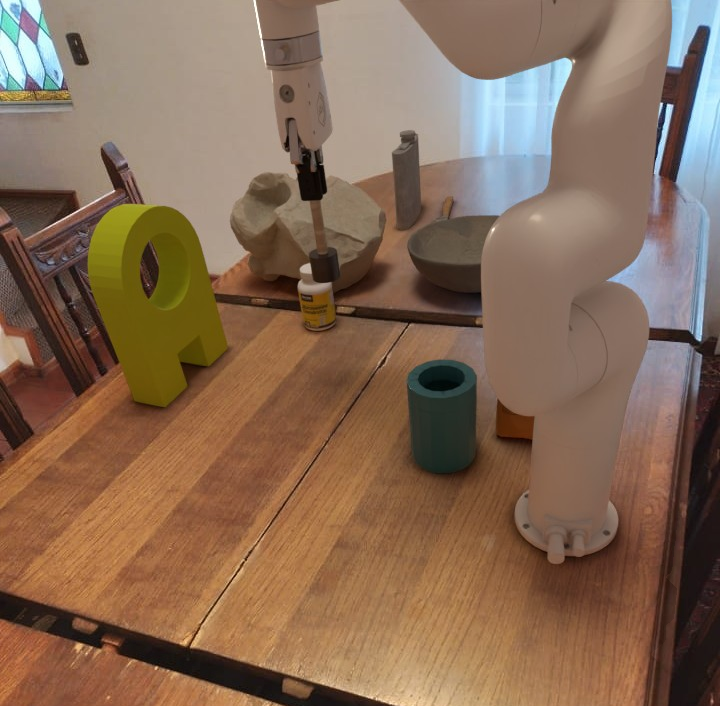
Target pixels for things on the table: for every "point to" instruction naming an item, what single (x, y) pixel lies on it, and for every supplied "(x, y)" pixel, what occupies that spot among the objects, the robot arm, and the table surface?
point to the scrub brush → (322, 250)
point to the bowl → (452, 251)
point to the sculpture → (306, 227)
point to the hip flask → (407, 180)
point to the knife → (446, 209)
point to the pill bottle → (315, 301)
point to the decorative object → (154, 299)
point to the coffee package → (513, 423)
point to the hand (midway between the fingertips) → (314, 196)
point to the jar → (442, 415)
